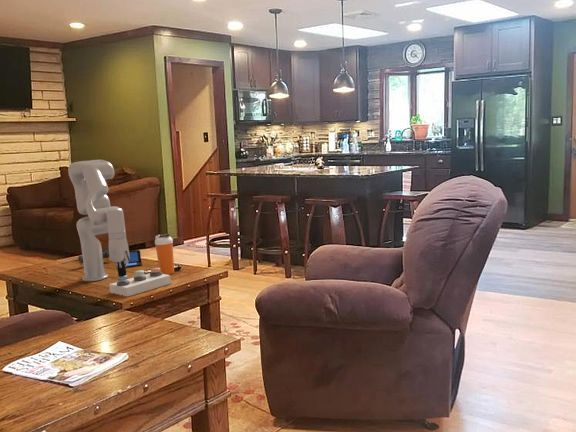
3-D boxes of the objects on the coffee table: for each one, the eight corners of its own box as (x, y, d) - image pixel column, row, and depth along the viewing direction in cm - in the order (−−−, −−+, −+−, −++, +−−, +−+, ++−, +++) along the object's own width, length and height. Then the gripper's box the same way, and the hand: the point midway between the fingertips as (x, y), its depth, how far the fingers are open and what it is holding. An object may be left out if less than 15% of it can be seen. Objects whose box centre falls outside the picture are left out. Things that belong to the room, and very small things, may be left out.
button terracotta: (149, 272, 287) (148, 269, 287) (156, 270, 290) (156, 267, 290) (154, 273, 284) (154, 270, 284) (162, 271, 287) (162, 268, 287)
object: (118, 269, 326) (117, 256, 325) (118, 265, 336) (116, 252, 335) (142, 266, 330) (141, 252, 329) (141, 262, 340) (139, 249, 339)
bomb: (111, 240, 349) (58, 249, 331) (118, 250, 343) (65, 261, 324) (109, 255, 355) (57, 265, 336) (116, 266, 348) (64, 277, 330)
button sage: (132, 275, 280) (132, 271, 280) (140, 273, 284) (140, 269, 283) (138, 276, 277) (137, 272, 277) (146, 274, 281) (145, 270, 280)
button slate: (115, 279, 274) (115, 276, 274) (124, 277, 277) (123, 274, 277) (121, 281, 271) (120, 277, 271) (129, 278, 274) (129, 275, 274)
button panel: (110, 292, 277) (108, 281, 277) (153, 280, 295) (152, 269, 294) (127, 296, 268) (126, 285, 267) (171, 283, 286) (170, 272, 285)
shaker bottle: (174, 274, 302) (169, 235, 299) (156, 276, 303) (152, 236, 300) (177, 270, 311) (173, 232, 308) (160, 271, 312) (156, 233, 309)
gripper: (101, 236, 273) (106, 276, 276) (119, 238, 263) (124, 279, 266) (115, 233, 279) (120, 272, 281) (134, 235, 269) (139, 275, 271)
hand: (122, 275), depth 273 cm, fingers closed
